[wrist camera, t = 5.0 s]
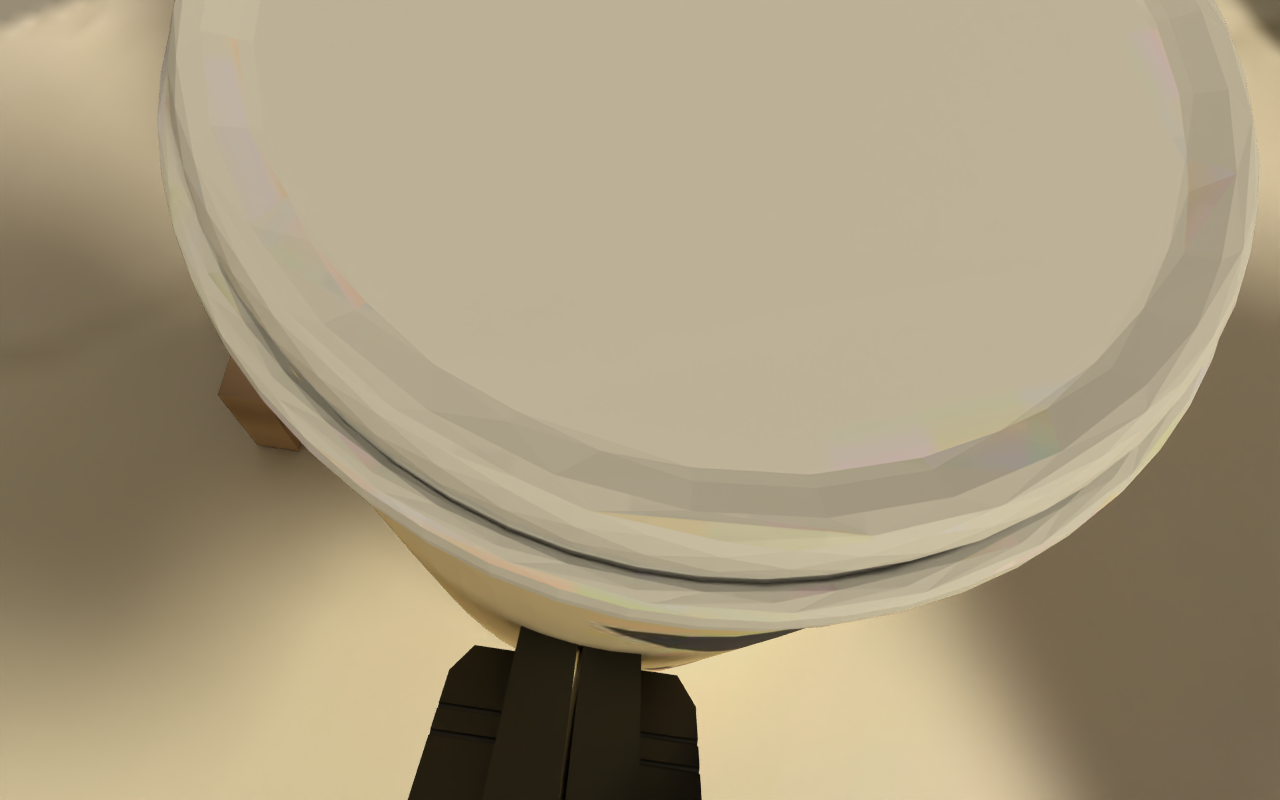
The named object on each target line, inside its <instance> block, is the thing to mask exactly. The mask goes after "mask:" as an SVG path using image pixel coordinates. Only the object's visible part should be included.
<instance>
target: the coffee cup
mask: <svg viewBox="0 0 1280 800" xmlns="http://www.w3.org/2000/svg"><path fill="white" fill-rule="evenodd" d="M158 134H159V148H160V162H161V175H162V180H163V184H164V189H165V193H166V198H167V202H168V207H169V211H170V216H171V220H172V225H173V228H174V231H175V234H176V237H177V240H178V243H179V246H180V249H181V251H182V254H183V257H184V259H185V262H186V265H187V268H188V270H189V273H190V276H191V279H192V281H193V284H194V287H195V289H196V292H197V294H198V297H199V298H200V300H201V302H202V304H203V306H204V308H205V310H206V312H207V314H208V316H209V317H210V319H211V321H212V323H213V325H214V327H215V329H216V331H217V333H218V335H219V336H220V338H221V340H222V342H223V344H224V346H225V348H226V349H227V351H228V352H229V354H230V355H231V356H232V358H233V359H234V361H235V362H236V363H237V365H238V366H239V368H240V369H241V370H242V372H243V373H244V375H245V376H246V378H247V379H248V380H249V382H250V383H251V385H252V386H253V387H254V389H255V390H256V392H257V393H258V394H259V396H260V397H261V399H262V400H263V401H264V402H265V403H266V405H267V406H268V407H269V408H270V409H271V410H272V411H273V412H274V413H275V414H276V416H277V417H278V418H279V419H280V420H281V421H282V422H283V423H284V424H285V425H286V426H287V428H288V429H289V430H290V431H291V432H292V433H293V434H294V435H295V436H296V437H297V438H298V440H299V441H300V442H301V443H302V444H303V445H304V446H305V447H306V448H307V449H308V450H309V451H310V452H311V453H312V454H313V455H314V456H315V457H316V458H317V459H318V460H320V461H321V462H322V463H323V464H324V465H325V466H326V467H328V468H329V469H330V470H331V471H332V472H333V473H335V474H336V475H337V476H338V477H339V478H340V479H342V480H343V481H344V482H345V483H346V484H347V485H349V486H350V487H351V488H352V489H353V490H354V491H356V492H357V493H358V494H359V495H360V496H361V497H363V498H364V499H365V500H366V501H367V502H368V503H370V504H371V505H372V506H373V507H374V509H375V510H376V511H377V512H378V513H379V514H380V516H381V517H382V518H383V519H384V520H385V521H386V523H387V524H388V525H389V526H390V527H391V528H392V530H393V531H394V532H395V533H396V534H397V535H398V537H399V538H400V539H401V540H402V541H403V542H404V544H405V545H406V546H407V547H408V548H409V550H410V551H411V552H412V553H413V554H414V555H415V556H416V557H417V559H418V560H419V561H420V562H421V563H422V564H423V565H424V566H425V568H426V569H427V570H428V571H429V572H430V573H431V574H432V575H433V576H434V578H435V579H436V580H437V581H438V582H439V583H440V584H441V585H442V586H443V588H444V589H445V590H446V591H447V592H448V593H449V594H450V595H451V596H452V598H453V599H454V600H455V601H456V602H457V603H458V604H459V605H460V606H461V607H462V608H463V609H464V610H465V611H466V612H467V613H468V614H469V615H470V616H472V617H473V618H474V619H475V620H476V621H478V622H479V623H480V624H481V625H482V626H484V627H485V628H486V629H487V630H489V631H490V632H491V633H493V634H494V635H495V636H496V637H498V638H499V639H500V640H502V641H504V642H505V643H507V644H509V645H511V646H512V647H514V648H516V645H517V641H518V636H519V632H520V627H521V626H524V627H526V628H529V629H531V630H533V631H536V632H538V633H541V634H544V635H547V636H550V637H554V638H557V639H560V640H564V641H567V642H570V643H575V644H578V645H577V653H576V662H575V670H576V665H577V660H578V654H579V651H580V650H581V648H582V646H587V647H592V648H597V649H602V650H607V651H615V652H624V653H634V654H642V656H641V670H644V671H650V672H652V671H659V670H664V669H669V668H673V667H677V666H681V665H685V664H688V663H692V662H695V661H699V660H702V659H705V658H709V657H712V656H716V655H719V654H722V653H726V652H729V651H733V650H736V649H739V648H743V647H746V646H749V645H753V644H756V643H760V642H763V641H766V640H770V639H773V638H777V637H780V636H783V635H786V634H789V633H792V632H795V631H798V630H801V629H804V628H814V627H824V626H830V625H835V624H840V623H846V622H851V621H856V620H862V619H867V618H872V617H878V616H883V615H888V614H894V613H899V612H903V611H906V610H909V609H913V608H916V607H919V606H922V605H925V604H928V603H932V602H935V601H938V600H941V599H944V598H948V597H951V596H954V595H957V594H960V593H963V592H965V591H967V590H970V589H972V588H974V587H976V586H978V585H981V584H983V583H985V582H987V581H989V580H991V579H994V578H996V577H998V576H1000V575H1002V574H1005V573H1007V572H1009V571H1011V570H1013V569H1016V568H1018V567H1019V566H1021V565H1022V564H1024V563H1026V562H1027V561H1029V560H1030V559H1032V558H1034V557H1035V556H1037V555H1039V554H1040V553H1042V552H1043V551H1045V550H1047V549H1048V548H1050V547H1051V546H1053V545H1055V544H1056V543H1058V542H1060V541H1061V540H1063V539H1064V538H1066V537H1068V536H1069V535H1070V534H1071V533H1073V532H1074V531H1075V530H1076V529H1077V528H1079V527H1080V526H1081V525H1082V524H1084V523H1085V522H1086V521H1087V520H1088V519H1090V518H1091V517H1092V516H1093V515H1095V514H1096V513H1097V512H1098V511H1099V510H1101V509H1102V508H1103V507H1104V506H1106V505H1107V504H1108V503H1109V502H1110V501H1112V500H1113V499H1114V498H1115V497H1117V496H1118V495H1119V494H1120V493H1121V492H1123V491H1124V489H1125V488H1126V487H1127V486H1128V485H1129V484H1130V483H1131V482H1132V481H1133V479H1134V478H1135V477H1136V476H1137V475H1138V474H1139V473H1140V472H1141V471H1142V469H1143V468H1144V467H1145V466H1146V465H1147V464H1148V463H1149V462H1150V461H1151V459H1152V458H1153V457H1154V456H1155V455H1156V454H1157V453H1158V452H1159V451H1160V449H1161V448H1162V446H1163V445H1164V443H1165V442H1166V441H1167V439H1168V438H1169V436H1170V435H1171V433H1172V432H1173V430H1174V429H1175V427H1176V426H1177V424H1178V423H1179V421H1180V420H1181V418H1182V417H1183V415H1184V414H1185V412H1186V411H1187V409H1188V408H1189V406H1190V405H1191V403H1192V401H1193V398H1194V396H1195V394H1196V392H1197V390H1198V388H1199V386H1200V384H1201V382H1202V380H1203V378H1204V376H1205V374H1206V372H1207V370H1208V368H1209V366H1210V364H1211V361H1212V359H1213V357H1214V354H1215V350H1216V347H1217V344H1218V341H1219V338H1220V336H1221V334H1222V332H1223V329H1224V327H1225V325H1226V323H1227V321H1228V319H1229V317H1230V315H1231V313H1232V311H1233V309H1234V307H1235V305H1236V301H1237V298H1238V295H1239V291H1240V288H1241V284H1242V281H1243V277H1244V274H1245V271H1246V267H1247V264H1248V260H1249V257H1250V253H1251V249H1252V243H1253V237H1254V230H1255V224H1256V218H1257V209H1258V183H1259V154H1258V147H1257V140H1256V134H1255V127H1254V121H1253V115H1252V109H1251V104H1250V99H1249V94H1248V89H1247V84H1246V78H1245V73H1244V70H1243V67H1242V65H1241V62H1240V59H1239V57H1238V54H1237V51H1236V49H1235V46H1234V43H1233V40H1232V38H1231V35H1230V32H1229V30H1228V27H1227V25H1226V23H1225V21H1224V19H1223V17H1222V15H1221V12H1220V10H1219V8H1218V6H1217V4H1216V2H1215V0H175V1H174V7H173V13H172V19H171V25H170V32H169V37H168V42H167V46H166V51H165V56H164V61H163V66H162V71H161V80H160V95H159V110H158Z"/></svg>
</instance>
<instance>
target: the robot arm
mask: <svg viewBox="0 0 1280 800" xmlns="http://www.w3.org/2000/svg"><path fill="white" fill-rule="evenodd" d="M577 645H578V644H575V643H570V642H567V641H564V640H560V639H557V638H554V637H550V636H547V635H544V634H541V633H538V632H536V631H533V630H531V629H529V628H526V627H524V626H521V627H520V632H519V636H518V641H517V645H516V650H515V651H510V650H504V649H497V648H490V647H484V646H477V645H475V646H474V647H472V648H471V649H470V650H469V651H468V652H467V653H466V654H465V655H464V656H463V657H462V658H461V659H460V660H459V661H458V662H457V663H456V664H455V665H454V666H453V667H452V668H451V669H450V670H449V672H448V675H447V679H446V682H445V685H444V688H443V691H442V694H441V697H440V701H439V705H438V708H437V710H436V713H435V716H434V719H433V722H432V726H431V729H430V734H429V735H428V738H427V741H426V744H425V747H424V751H423V754H422V757H421V760H420V763H419V766H418V769H417V773H416V776H415V779H414V782H413V785H412V788H411V791H410V794H409V798H408V800H702V798H701V782H700V774H699V751H698V746H697V741H698V736H697V720H696V706H695V705H694V703H693V701H692V700H691V698H690V696H689V695H688V693H687V691H686V689H685V688H684V686H683V684H682V683H681V681H680V679H679V678H678V676H677V675H670V674H663V673H657V672H650V671H644V670H641V656H642V654H634V653H624V652H615V651H607V650H602V649H597V648H592V647H587V646H582V648H581V650H580V651H579V654H578V660H577V665H576V671H575V676H574V670H575V662H576V653H577ZM573 678H574V682H573ZM572 686H573V687H572Z"/></svg>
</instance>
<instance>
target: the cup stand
mask: <svg viewBox="0 0 1280 800" xmlns="http://www.w3.org/2000/svg"><path fill="white" fill-rule="evenodd" d="M218 396H219V397H220V398H221V399H222V401H223V402H224V403H225V405H226V406H227V407H228V408H229V410H230V411H231V412H232V413H233V415H234V416H235V417H236V418H237V420H238V421H239V422H240V424H241V425H242V426H243V427H244V429H245V430H246V431H247V432H248V434H249V435H250V436H251V438H252V439H253V440H254V441H255V443H256V444H257V445H261V446H268V447H274V448H281V449H287V450H294V451H299V450H300V446H301V442H300V441H299V440H298V438H297V437H296V436H295V435H294V434H293V433H292V432H291V431H290V430H289V429H288V428H287V426H286V425H285V424H284V423H283V422H282V421H281V420H280V419H279V418H278V417H277V416H276V414H275V413H274V412H273V411H272V410H271V409H270V408H269V407H268V406H267V405H266V403H265V402H264V401H263V400H262V399H261V397H260V396H259V394H258V393H257V392H256V390H255V389H254V387H253V386H252V385H251V383H250V382H249V380H248V379H247V378H246V376H245V375H244V373H243V372H242V370H241V369H240V368H239V366H238V365H237V363H236V362H235V361H234V359H233V358H232V356H231V357H230V360H229V363H228V366H227V369H226V372H225V375H224V378H223V381H222V384H221V387H220V390H219V393H218Z"/></svg>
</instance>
